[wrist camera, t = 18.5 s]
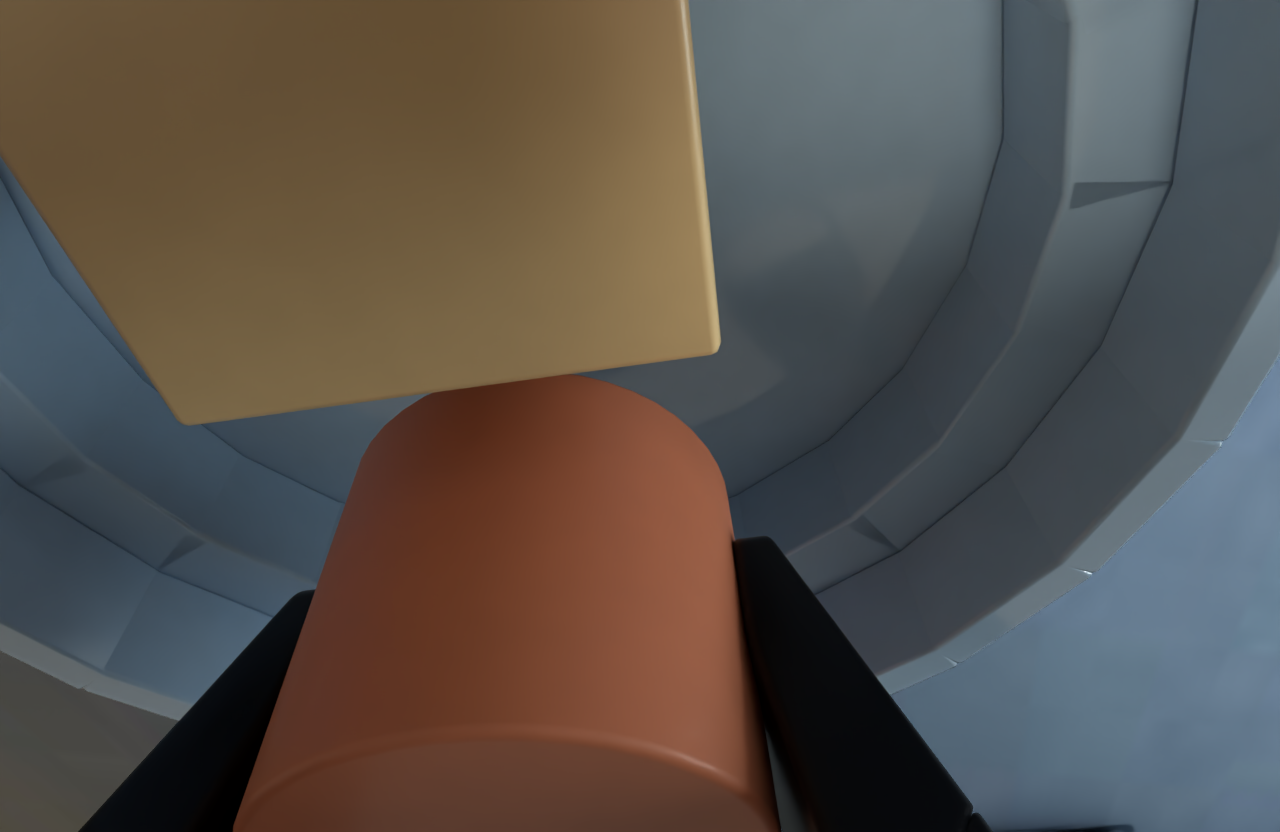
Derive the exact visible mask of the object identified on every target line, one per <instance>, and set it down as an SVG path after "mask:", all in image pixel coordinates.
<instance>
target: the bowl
mask: <svg viewBox="0 0 1280 832" xmlns="http://www.w3.org/2000/svg"><path fill="white" fill-rule="evenodd" d="M688 1H689V12H690V22H691V33H692V43H693V54H694V64H695V74H696V85H697V95H698V106H699V116H700V127H701V137H702V147H703V158H704V168H705V179H706V189H707V200H708V210H709V220H710V231H711V241H712V252H713V262H714V273H715V283H716V294H717V304H718V314H719V325H720V335H721V343H720V346H719V349H718V352H716V353H714V354H712V355H706V356H699V357H692V358H684V359H677V360H670V361H662V362H655V363H647V364H640V365H633V366H625V367H618V368H611V369H603V370H596V371H589V372H581V373H574V375H581V376H586V377H590V378H594V379H598V380H602V381H606V382H610V383H612V384H615V385H618V386H621V387H623V388H626V389H629V390H632V391H634V392H636V393H638V394H640V395H642V396H644V397H646V398H648V399H650V400H652V401H654V402H656V403H657V404H659V405H660V406H662V407H663V408H665V409H666V410H668V411H669V412H671V413H673V414H674V415H675V416H676V417H678V418H679V419H680V420H681V421H682V422H683V423H684V424H686V425H687V426H688V427H689V428H690V429H691V430H692V431H693V432H694V433H695V434H696V435H697V436H698V438H699V439H700V440H701V441H702V442H703V443H704V445H705V446H706V447H707V448H708V450H709V451H710V453H711V454H712V456H713V458H714V459H715V461H716V463H717V464H718V466H719V469H720V471H721V474H722V476H723V479H724V481H725V486H726V491H727V496H728V501H729V507H730V514H731V520H732V526H733V532H734V538H735V540H736V539H740V538H748V537H757V536H768V537H770V538H771V539H772V540H773V541H774V542H775V543H776V544H777V546H778V547H779V548H780V550H781V551H782V552H783V554H784V555H785V556H786V558H787V559H788V560H789V562H790V563H791V564H792V566H793V567H794V568H795V570H796V571H797V572H798V574H799V575H800V576H801V578H802V579H803V580H804V582H805V583H806V584H807V586H808V587H809V588H810V590H811V591H812V592H813V594H814V595H815V596H816V598H817V599H818V600H819V601H820V603H821V604H822V605H823V607H824V608H825V609H826V611H827V612H828V613H829V615H830V616H831V617H832V619H833V620H834V621H835V623H836V624H837V625H838V627H839V628H840V629H841V631H842V632H843V633H844V635H845V636H846V637H847V639H848V640H849V641H850V643H851V644H852V645H853V647H854V648H855V649H856V651H857V652H858V653H859V655H860V656H861V657H862V659H863V660H864V661H865V663H866V664H867V665H868V667H869V668H870V669H871V671H872V672H873V673H874V675H875V676H876V677H877V679H878V680H879V681H880V683H881V684H882V685H883V687H884V688H885V689H886V691H887V692H888V693H889V695H892V694H894V693H896V692H898V691H901V690H903V689H905V688H908V687H910V686H912V685H915V684H917V683H919V682H922V681H924V680H926V679H928V678H931V677H933V676H935V675H938V674H940V673H942V672H945V671H947V670H949V669H951V668H954V667H956V666H957V663H961V662H964V661H965V660H967V659H968V658H970V657H971V656H973V655H974V654H976V653H977V652H979V651H980V650H982V649H983V648H985V647H986V646H988V645H989V644H991V643H992V642H994V641H995V640H997V639H998V638H1000V637H1001V636H1003V635H1004V634H1006V633H1007V632H1009V631H1010V630H1012V629H1013V628H1015V627H1016V626H1018V625H1019V624H1021V623H1022V622H1024V621H1025V620H1027V619H1028V618H1030V617H1031V616H1033V615H1034V614H1036V613H1037V612H1039V611H1040V610H1042V609H1043V608H1045V607H1046V606H1048V605H1049V604H1051V603H1052V602H1054V601H1055V600H1057V599H1058V598H1060V597H1061V596H1063V595H1064V594H1066V593H1067V592H1069V591H1070V590H1072V589H1073V588H1075V587H1076V586H1078V585H1079V584H1081V583H1082V582H1084V581H1085V580H1087V579H1088V578H1090V577H1091V575H1092V573H1093V572H1096V571H1099V570H1100V569H1101V568H1102V567H1103V566H1104V565H1105V564H1106V563H1107V562H1108V561H1109V560H1110V559H1111V557H1112V556H1113V555H1114V554H1115V553H1116V552H1117V551H1118V550H1119V549H1120V548H1121V547H1122V546H1123V545H1124V544H1125V543H1126V542H1127V541H1128V540H1129V539H1130V538H1131V537H1132V536H1133V535H1134V534H1135V533H1136V532H1137V531H1138V530H1139V529H1140V528H1141V527H1142V526H1143V525H1144V524H1145V523H1146V522H1147V521H1148V520H1149V519H1150V518H1151V517H1152V516H1153V515H1154V514H1155V513H1156V512H1157V511H1158V510H1159V509H1160V508H1161V507H1162V506H1163V505H1164V504H1165V503H1166V502H1167V501H1168V500H1169V499H1170V498H1171V497H1172V496H1173V495H1174V494H1175V493H1176V492H1177V491H1178V490H1179V489H1180V488H1181V487H1182V486H1183V485H1184V484H1185V483H1186V482H1187V481H1188V480H1189V479H1190V478H1191V477H1192V476H1193V475H1194V474H1195V473H1196V472H1197V471H1198V470H1199V469H1200V468H1201V467H1202V466H1203V465H1204V464H1205V463H1206V462H1207V461H1208V460H1209V459H1210V458H1211V457H1212V456H1213V455H1214V454H1215V453H1216V452H1217V451H1218V450H1219V449H1220V448H1221V446H1222V444H1223V443H1222V441H1224V440H1226V439H1228V438H1229V437H1230V435H1231V434H1232V432H1233V431H1234V429H1235V427H1236V426H1237V424H1238V422H1239V421H1240V419H1241V418H1242V416H1243V414H1244V413H1245V411H1246V410H1247V408H1248V406H1249V405H1250V403H1251V401H1252V400H1253V398H1254V397H1255V395H1256V393H1257V392H1258V390H1259V389H1260V387H1261V385H1262V384H1263V382H1264V381H1265V379H1266V377H1267V376H1268V374H1269V372H1270V371H1271V369H1272V368H1273V366H1274V364H1275V363H1276V361H1277V360H1278V358H1279V356H1280V0H688ZM429 394H431V393H427V394H419V395H412V396H405V397H397V398H390V399H383V400H375V401H368V402H361V403H353V404H346V405H338V406H331V407H324V408H316V409H309V410H302V411H294V412H287V413H280V414H272V415H265V416H258V417H250V418H243V419H235V420H228V421H221V422H213V423H206V424H199V425H191V426H188V425H183V424H181V423H180V422H179V421H177V419H176V418H175V416H174V415H173V413H172V412H171V410H170V409H169V407H168V406H167V404H166V403H165V401H164V400H163V398H162V397H161V395H160V394H159V392H158V391H157V389H156V388H155V386H154V385H153V383H152V382H151V380H150V379H149V377H148V376H147V374H146V373H145V371H144V370H143V368H142V367H141V365H140V364H139V362H138V361H137V359H136V358H135V356H134V355H133V354H132V352H131V351H130V349H129V348H128V346H127V345H126V343H125V342H124V340H123V339H122V337H121V336H120V334H119V333H118V331H117V330H116V328H115V327H114V325H113V324H112V322H111V321H110V319H109V318H108V316H107V315H106V313H105V312H104V310H103V309H102V307H101V306H100V304H99V303H98V301H97V300H96V298H95V297H94V295H93V294H92V292H91V291H90V289H89V288H88V286H87V285H86V283H85V282H84V280H83V279H82V277H81V276H80V274H79V273H78V271H77V270H76V268H75V267H74V265H73V264H72V262H71V261H70V259H69V258H68V256H67V255H66V253H65V252H64V250H63V249H62V247H61V246H60V244H59V243H58V241H57V240H56V238H55V237H54V236H53V234H52V233H51V231H50V230H49V228H48V227H47V225H46V224H45V222H44V221H43V219H42V218H41V216H40V215H39V213H38V212H37V210H36V209H35V207H34V206H33V204H32V203H31V201H30V200H29V198H28V197H27V195H26V194H25V192H24V191H23V189H22V188H21V186H20V185H19V183H18V182H17V180H16V179H15V177H14V176H13V174H12V173H11V171H10V170H9V168H8V167H7V165H6V164H5V162H4V161H3V159H2V158H1V156H0V651H1V652H3V653H5V654H7V655H9V656H11V657H13V658H15V659H17V660H20V661H22V662H24V663H26V664H28V665H30V666H32V667H34V668H36V669H38V670H40V671H42V672H44V673H46V674H48V675H50V676H52V677H54V678H56V679H58V680H60V681H62V682H64V683H67V684H69V685H71V686H73V687H75V688H78V689H81V688H83V689H84V690H85V691H87V692H90V693H93V694H96V695H99V696H103V697H106V698H109V699H112V700H115V701H118V702H121V703H124V704H127V705H130V706H133V707H137V708H140V709H143V710H146V711H149V712H152V713H155V714H158V715H161V716H164V717H167V718H171V719H174V720H177V721H179V720H180V719H181V718H182V717H183V716H184V715H185V714H186V713H187V712H188V710H189V709H190V708H191V707H192V706H193V705H194V704H195V703H196V702H197V701H198V699H199V698H200V697H201V696H202V695H203V694H204V693H205V692H206V691H207V690H208V689H209V687H210V686H211V685H212V684H213V683H214V682H215V681H216V680H217V679H218V678H219V676H220V675H221V674H222V673H223V672H224V671H225V670H226V669H227V668H228V667H229V665H230V664H231V663H232V662H233V661H234V660H235V659H236V658H237V657H238V656H239V654H240V653H241V652H242V651H243V650H244V649H245V648H246V647H247V646H248V645H249V643H250V642H251V641H252V640H253V639H254V638H255V637H256V636H257V635H258V634H259V632H260V631H261V630H262V629H263V628H264V627H265V626H266V625H267V624H268V623H269V621H270V620H271V619H272V618H273V617H274V616H275V615H276V614H277V613H278V612H279V610H280V609H281V608H282V607H283V606H284V605H285V604H286V603H287V602H288V601H289V599H291V598H292V597H293V596H294V595H295V594H297V593H299V592H301V591H305V590H313V589H316V587H317V584H318V581H319V578H320V575H321V573H322V570H323V567H324V564H325V561H326V558H327V555H328V552H329V550H330V547H331V544H332V541H333V538H334V535H335V532H336V529H337V527H338V524H339V521H340V518H341V515H342V512H343V509H344V506H345V504H346V501H347V498H348V495H349V492H350V489H351V486H352V483H353V481H354V478H355V475H356V472H357V469H358V466H359V463H360V461H361V458H362V456H363V455H364V453H365V451H366V449H367V448H368V446H369V444H370V442H371V441H372V440H373V439H374V437H375V436H376V435H377V434H378V433H379V432H380V430H381V429H382V428H383V427H384V426H385V425H386V424H387V423H388V422H389V421H390V420H392V419H393V418H394V417H395V416H396V415H398V414H399V413H400V412H401V411H402V410H404V409H405V408H407V407H408V406H410V405H412V404H413V403H415V402H416V401H418V400H419V399H421V398H423V397H424V396H426V395H429Z"/></svg>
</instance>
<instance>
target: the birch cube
mask: <svg viewBox="0 0 1280 832" xmlns="http://www.w3.org/2000/svg"><path fill="white" fill-rule="evenodd" d="M0 156H1V158H2V159H3V161H4V162H5V164H6V165H7V167H8V168H9V170H10V171H11V173H12V174H13V176H14V177H15V179H16V180H17V182H18V183H19V185H20V186H21V188H22V189H23V191H24V192H25V194H26V195H27V197H28V198H29V200H30V201H31V203H32V204H33V206H34V207H35V209H36V210H37V212H38V213H39V215H40V216H41V218H42V219H43V221H44V222H45V224H46V225H47V227H48V228H49V230H50V231H51V233H52V234H53V236H54V237H55V238H56V240H57V241H58V243H59V244H60V246H61V247H62V249H63V250H64V252H65V253H66V255H67V256H68V258H69V259H70V261H71V262H72V264H73V265H74V267H75V268H76V270H77V271H78V273H79V274H80V276H81V277H82V279H83V280H84V282H85V283H86V285H87V286H88V288H89V289H90V291H91V292H92V294H93V295H94V297H95V298H96V300H97V301H98V303H99V304H100V306H101V307H102V309H103V310H104V312H105V313H106V315H107V316H108V318H109V319H110V321H111V322H112V324H113V325H114V327H115V328H116V330H117V331H118V333H119V334H120V336H121V337H122V339H123V340H124V342H125V343H126V345H127V346H128V348H129V349H130V351H131V352H132V354H133V355H134V356H135V358H136V359H137V361H138V362H139V364H140V365H141V367H142V368H143V370H144V371H145V373H146V374H147V376H148V377H149V379H150V380H151V382H152V383H153V385H154V386H155V388H156V389H157V391H158V392H159V394H160V395H161V397H162V398H163V400H164V401H165V403H166V404H167V406H168V407H169V409H170V410H171V412H172V413H173V415H174V416H175V418H176V419H177V421H179V422H180V423H181V424H183V425H188V426H191V425H199V424H206V423H213V422H221V421H228V420H235V419H243V418H250V417H258V416H265V415H272V414H280V413H287V412H294V411H302V410H309V409H316V408H324V407H331V406H338V405H346V404H353V403H361V402H368V401H375V400H383V399H390V398H397V397H405V396H412V395H419V394H427V393H434V392H441V391H449V390H456V389H464V388H471V387H478V386H486V385H493V384H500V383H508V382H515V381H522V380H530V379H537V378H544V377H552V376H559V375H567V374H574V373H581V372H589V371H596V370H603V369H611V368H618V367H625V366H633V365H640V364H647V363H655V362H662V361H670V360H677V359H684V358H692V357H699V356H706V355H712V354H714V353H716V352H718V349H719V346H720V343H721V335H720V325H719V314H718V304H717V294H716V283H715V273H714V262H713V252H712V241H711V231H710V220H709V210H708V200H707V189H706V179H705V168H704V158H703V147H702V137H701V127H700V116H699V106H698V95H697V85H696V74H695V64H694V54H693V43H692V33H691V22H690V12H689V1H688V0H0Z"/></svg>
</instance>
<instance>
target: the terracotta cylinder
mask: <svg viewBox="0 0 1280 832" xmlns="http://www.w3.org/2000/svg"><path fill="white" fill-rule="evenodd" d="M734 541H735V538H734V532H733V526H732V520H731V514H730V507H729V501H728V496H727V491H726V486H725V481H724V479H723V476H722V474H721V471H720V469H719V466H718V464H717V463H716V461H715V459H714V458H713V456H712V454H711V453H710V451H709V450H708V448H707V447H706V446H705V445H704V443H703V442H702V441H701V440H700V439H699V438H698V436H697V435H696V434H695V433H694V432H693V431H692V430H691V429H690V428H689V427H688V426H687V425H686V424H684V423H683V422H682V421H681V420H680V419H679V418H678V417H676V416H675V415H674V414H673V413H671V412H669V411H668V410H666V409H665V408H663V407H662V406H660V405H659V404H657V403H656V402H654V401H652V400H650V399H648V398H646V397H644V396H642V395H640V394H638V393H636V392H634V391H632V390H629V389H626V388H623V387H621V386H618V385H615V384H612V383H610V382H606V381H602V380H598V379H594V378H590V377H586V376H581V375H574V374H567V375H559V376H552V377H544V378H537V379H530V380H522V381H515V382H508V383H500V384H493V385H486V386H478V387H471V388H464V389H456V390H449V391H441V392H434V393H431V394H429V395H426V396H424V397H423V398H421V399H419V400H418V401H416V402H415V403H413V404H412V405H410V406H408V407H407V408H405V409H404V410H402V411H401V412H400V413H399V414H398V415H396V416H395V417H394V418H393V419H392V420H390V421H389V422H388V423H387V424H386V425H385V426H384V427H383V428H382V429H381V430H380V432H379V433H378V434H377V435H376V436H375V437H374V439H373V440H372V441H371V442H370V444H369V446H368V448H367V449H366V451H365V453H364V455H363V456H362V458H361V461H360V463H359V466H358V469H357V472H356V475H355V478H354V481H353V483H352V486H351V489H350V492H349V495H348V498H347V501H346V504H345V506H344V509H343V512H342V515H341V518H340V521H339V524H338V527H337V529H336V532H335V535H334V538H333V541H332V544H331V547H330V550H329V552H328V555H327V558H326V561H325V564H324V567H323V570H322V573H321V575H320V578H319V581H318V584H317V587H316V590H315V593H314V596H313V598H312V601H311V604H310V607H309V610H308V613H307V616H306V619H305V621H304V624H303V627H302V630H301V633H300V636H299V639H298V642H297V644H296V647H295V650H294V653H293V656H292V659H291V662H290V664H289V667H288V670H287V673H286V676H285V679H284V682H283V685H282V687H281V690H280V693H279V696H278V699H277V702H276V705H275V708H274V710H273V713H272V716H271V719H270V722H269V725H268V728H267V731H266V733H265V736H264V739H263V742H262V745H261V748H260V751H259V754H258V756H257V759H256V762H255V765H254V768H253V771H252V774H251V777H250V779H249V782H248V785H247V788H246V791H245V794H244V797H243V800H242V802H241V805H240V808H239V811H238V814H237V817H236V820H235V822H234V825H233V832H782V830H781V824H780V818H779V812H778V805H777V799H776V793H775V787H774V781H773V774H772V768H771V762H770V756H769V750H768V743H767V737H766V731H765V725H764V719H763V713H762V708H761V703H760V698H759V692H758V688H757V684H756V679H755V675H754V671H753V666H752V662H751V658H750V652H749V647H748V642H747V636H746V630H745V624H744V617H743V611H742V605H741V598H740V592H739V586H738V579H737V573H736V567H735V560H734V554H733V542H734Z"/></svg>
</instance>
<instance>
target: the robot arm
mask: <svg viewBox="0 0 1280 832" xmlns="http://www.w3.org/2000/svg"><path fill="white" fill-rule="evenodd" d="M733 554H734V560H735V567H736V573H737V579H738V586H739V592H740V598H741V605H742V611H743V617H744V624H745V630H746V636H747V642H748V647H749V652H750V658H751V662H752V666H753V671H754V675H755V679H756V684H757V688H758V692H759V698H760V703H761V708H762V713H763V719H764V725H765V731H766V737H767V743H768V750H769V756H770V762H771V768H772V774H773V781H774V787H775V793H776V799H777V805H778V812H779V818H780V824H781V828H782V832H993V831H992V830H991V828H990V827H989V826H988V824H987V823H986V822H985V820H984V819H983V818H982V816H981V815H980V814H978V813H973V814H972V811H973V805H972V804H971V802H970V801H969V800H968V798H967V797H966V796H965V794H964V793H963V792H962V790H961V789H960V788H959V786H958V785H957V784H956V782H955V781H954V780H953V778H952V777H951V776H950V774H949V773H948V772H947V770H946V769H945V768H944V766H943V765H942V764H941V762H940V761H939V760H938V758H937V757H936V756H935V754H934V753H933V752H932V750H931V749H930V748H929V746H928V745H927V744H926V742H925V741H924V740H923V738H922V737H921V736H920V734H919V733H918V732H917V730H916V729H915V728H914V726H913V725H912V724H911V722H910V721H909V720H908V719H907V717H906V716H905V715H904V713H903V712H902V711H901V709H900V708H899V707H898V705H897V704H896V703H895V701H894V700H893V699H892V697H891V696H890V695H889V693H888V692H887V691H886V689H885V688H884V687H883V685H882V684H881V683H880V681H879V680H878V679H877V677H876V676H875V675H874V673H873V672H872V671H871V669H870V668H869V667H868V665H867V664H866V663H865V661H864V660H863V659H862V657H861V656H860V655H859V653H858V652H857V651H856V649H855V648H854V647H853V645H852V644H851V643H850V641H849V640H848V639H847V637H846V636H845V635H844V633H843V632H842V631H841V629H840V628H839V627H838V625H837V624H836V623H835V621H834V620H833V619H832V617H831V616H830V615H829V613H828V612H827V611H826V609H825V608H824V607H823V605H822V604H821V603H820V601H819V600H818V599H817V598H816V596H815V595H814V594H813V592H812V591H811V590H810V588H809V587H808V586H807V584H806V583H805V582H804V580H803V579H802V578H801V576H800V575H799V574H798V572H797V571H796V570H795V568H794V567H793V566H792V564H791V563H790V562H789V560H788V559H787V558H786V556H785V555H784V554H783V552H782V551H781V550H780V548H779V547H778V546H777V544H776V543H775V542H774V541H773V540H772V539H771V538H770V537H768V536H757V537H748V538H740V539H736V540H735V541H734V542H733ZM315 590H316V589H313V590H305V591H301V592H299V593H297V594H295V595H294V596H293V597H292V598H291V599H289V601H288V602H287V603H286V604H285V605H284V606H283V607H282V608H281V609H280V610H279V612H278V613H277V614H276V615H275V616H274V617H273V618H272V619H271V620H270V621H269V623H268V624H267V625H266V626H265V627H264V628H263V629H262V630H261V631H260V632H259V634H258V635H257V636H256V637H255V638H254V639H253V640H252V641H251V642H250V643H249V645H248V646H247V647H246V648H245V649H244V650H243V651H242V652H241V653H240V654H239V656H238V657H237V658H236V659H235V660H234V661H233V662H232V663H231V664H230V665H229V667H228V668H227V669H226V670H225V671H224V672H223V673H222V674H221V675H220V676H219V678H218V679H217V680H216V681H215V682H214V683H213V684H212V685H211V686H210V687H209V689H208V690H207V691H206V692H205V693H204V694H203V695H202V696H201V697H200V698H199V699H198V701H197V702H196V703H195V704H194V705H193V706H192V707H191V708H190V709H189V710H188V712H187V713H186V714H185V715H184V716H183V717H182V718H181V719H180V720H179V721H178V723H177V724H176V725H175V726H174V727H173V728H172V729H171V730H170V731H169V732H168V734H167V735H166V736H165V737H164V738H163V739H162V740H161V741H160V742H159V743H158V745H157V746H156V747H155V748H154V749H153V750H152V751H151V752H150V753H149V754H148V756H147V757H146V758H145V759H144V760H143V761H142V762H141V763H140V764H139V765H138V767H137V768H136V769H135V770H134V771H133V772H132V773H131V774H130V775H129V776H128V778H127V779H126V780H125V781H124V782H123V783H122V784H121V785H120V786H119V787H118V788H117V790H116V791H115V792H114V793H113V794H112V795H111V796H110V797H109V798H108V799H107V801H106V802H105V803H104V804H103V805H102V806H101V807H100V808H99V809H98V810H97V812H96V813H95V814H94V815H93V816H92V817H91V818H90V819H89V820H88V821H87V823H86V824H85V825H84V826H83V827H82V828H81V829H80V830H79V831H78V832H233V825H234V822H235V820H236V817H237V814H238V811H239V808H240V805H241V802H242V800H243V797H244V794H245V791H246V788H247V785H248V782H249V779H250V777H251V774H252V771H253V768H254V765H255V762H256V759H257V756H258V754H259V751H260V748H261V745H262V742H263V739H264V736H265V733H266V731H267V728H268V725H269V722H270V719H271V716H272V713H273V710H274V708H275V705H276V702H277V699H278V696H279V693H280V690H281V687H282V685H283V682H284V679H285V676H286V673H287V670H288V667H289V664H290V662H291V659H292V656H293V653H294V650H295V647H296V644H297V642H298V639H299V636H300V633H301V630H302V627H303V624H304V621H305V619H306V616H307V613H308V610H309V607H310V604H311V601H312V598H313V596H314V593H315Z"/></svg>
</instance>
